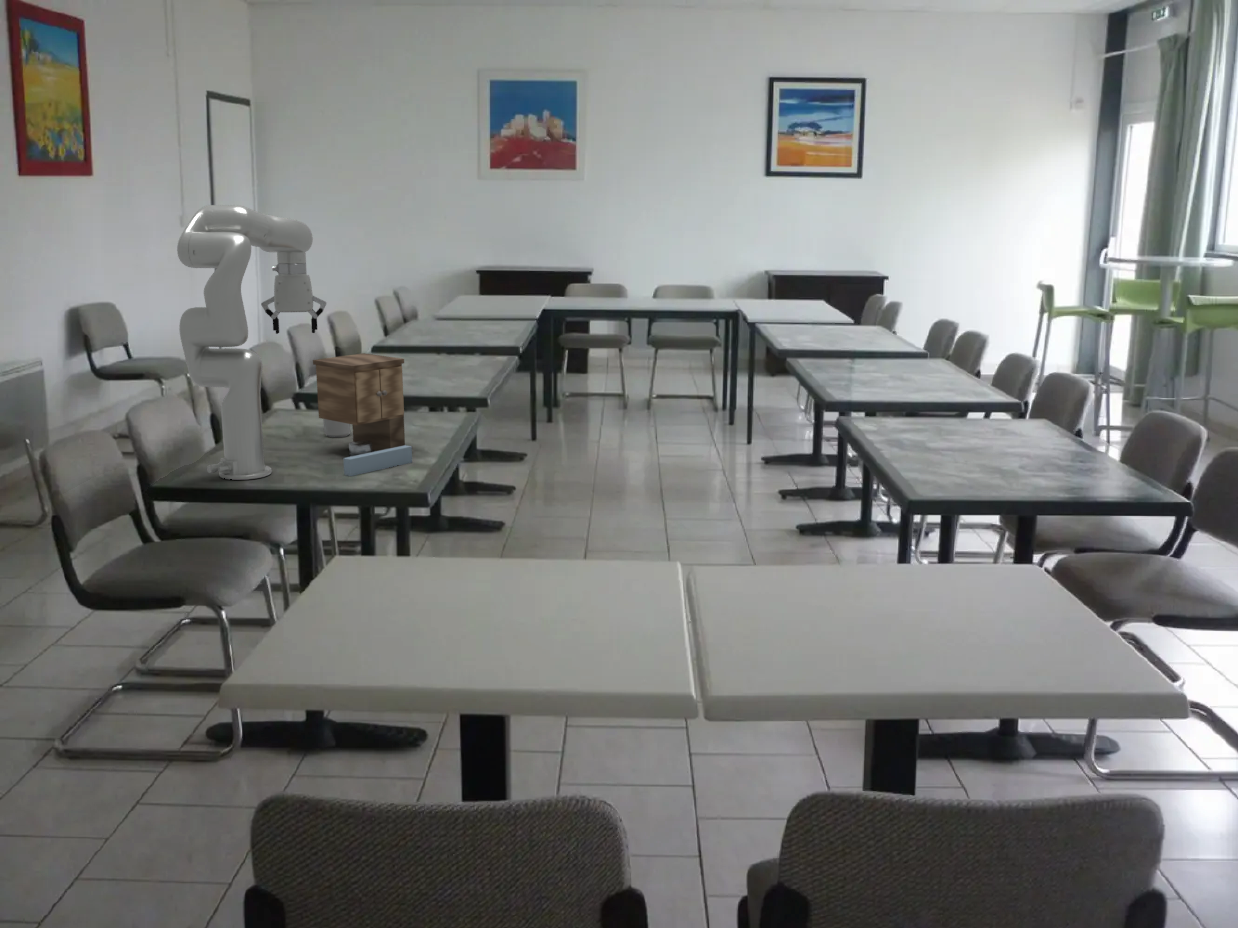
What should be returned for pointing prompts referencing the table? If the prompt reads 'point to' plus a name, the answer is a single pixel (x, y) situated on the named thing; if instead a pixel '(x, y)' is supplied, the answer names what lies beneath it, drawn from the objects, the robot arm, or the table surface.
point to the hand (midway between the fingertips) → (295, 332)
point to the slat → (377, 460)
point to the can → (336, 428)
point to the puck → (360, 448)
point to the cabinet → (364, 396)
